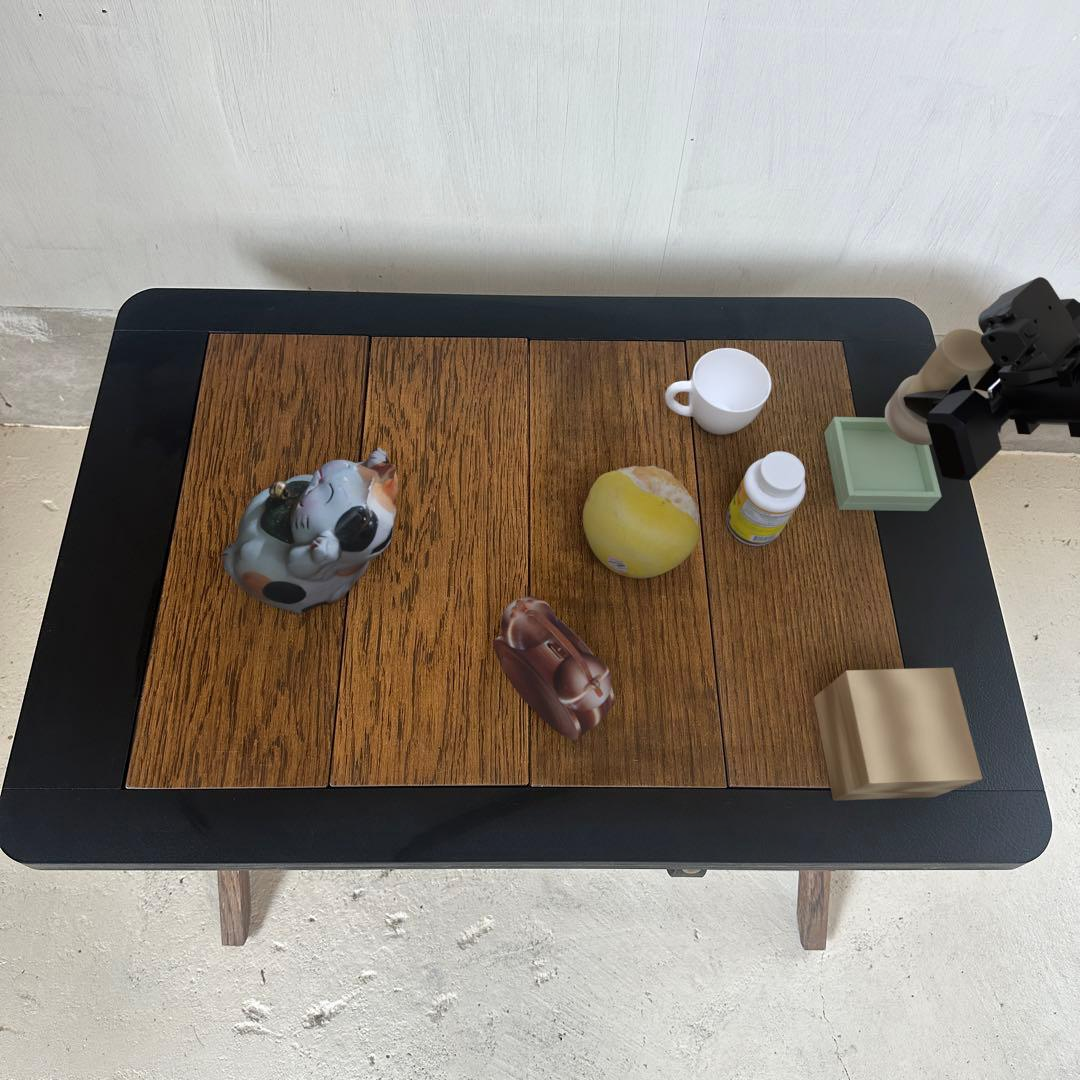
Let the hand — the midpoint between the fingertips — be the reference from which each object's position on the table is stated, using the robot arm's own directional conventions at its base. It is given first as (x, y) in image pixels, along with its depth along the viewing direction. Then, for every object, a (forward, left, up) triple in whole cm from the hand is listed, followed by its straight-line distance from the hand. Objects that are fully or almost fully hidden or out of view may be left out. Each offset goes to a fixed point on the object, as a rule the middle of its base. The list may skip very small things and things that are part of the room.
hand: (921, 386), depth 76 cm
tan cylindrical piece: (-1, +1, -4) cm, 4 cm away
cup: (+17, +2, -13) cm, 21 cm away
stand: (-7, +29, -13) cm, 32 cm away
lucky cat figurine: (+46, +31, -13) cm, 57 cm away
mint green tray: (-1, +1, -13) cm, 13 cm away
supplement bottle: (+9, +12, -13) cm, 20 cm away
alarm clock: (+21, +36, -13) cm, 43 cm away
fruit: (+19, +19, -13) cm, 30 cm away
